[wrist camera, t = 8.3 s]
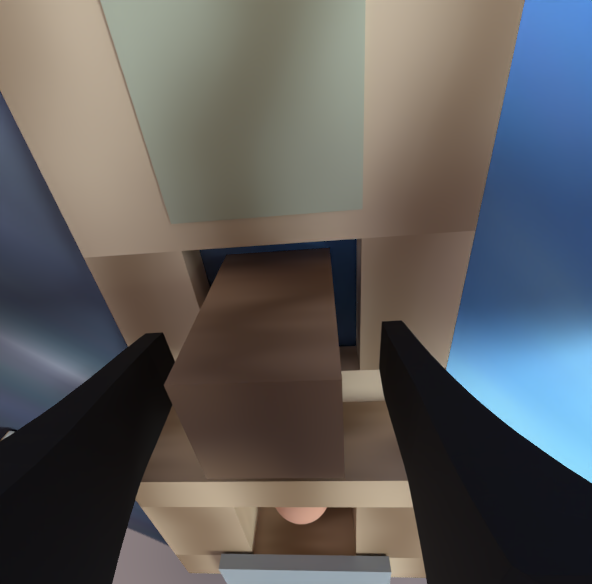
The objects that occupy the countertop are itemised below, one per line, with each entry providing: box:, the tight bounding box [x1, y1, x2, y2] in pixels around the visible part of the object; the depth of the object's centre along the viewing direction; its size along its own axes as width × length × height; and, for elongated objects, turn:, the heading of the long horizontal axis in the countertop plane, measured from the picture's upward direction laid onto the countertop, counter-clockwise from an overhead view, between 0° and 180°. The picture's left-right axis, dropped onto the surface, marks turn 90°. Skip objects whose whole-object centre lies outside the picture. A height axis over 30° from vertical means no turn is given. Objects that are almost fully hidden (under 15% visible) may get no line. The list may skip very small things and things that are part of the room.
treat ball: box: [275, 507, 327, 524], centre depth 16 cm, size 3×3×3 cm
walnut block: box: [164, 248, 345, 479], centre depth 11 cm, size 4×4×6 cm
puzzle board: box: [0, 0, 525, 578], centre depth 13 cm, size 13×25×5 cm, turn 5°
